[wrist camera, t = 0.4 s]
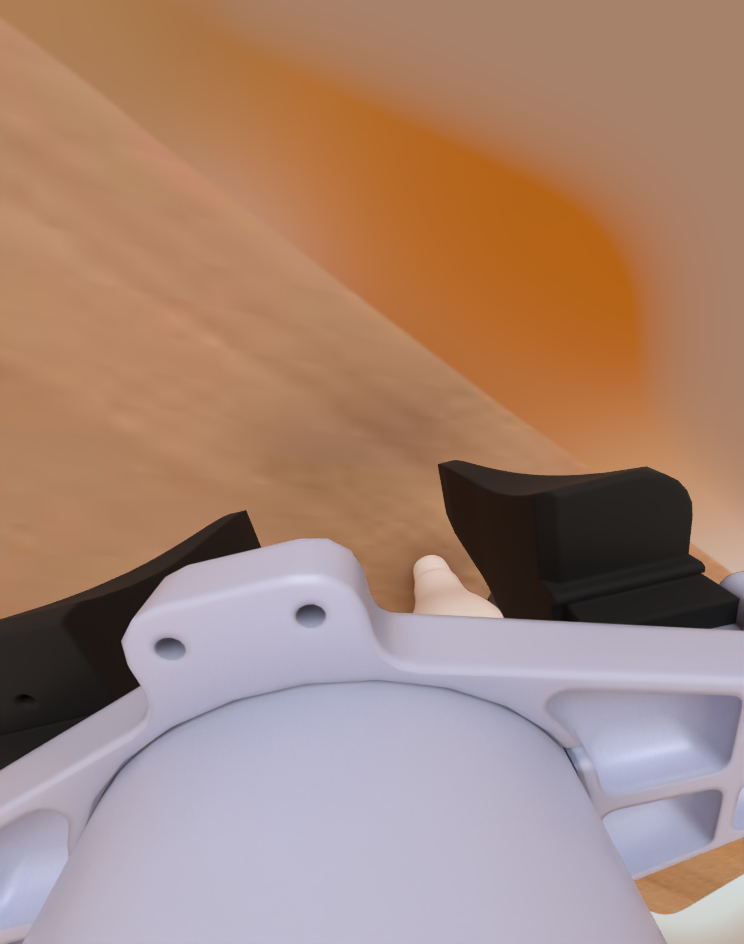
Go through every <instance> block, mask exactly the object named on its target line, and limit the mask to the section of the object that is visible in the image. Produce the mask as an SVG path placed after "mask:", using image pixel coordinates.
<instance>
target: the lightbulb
mask: <svg viewBox="0 0 744 944" xmlns="http://www.w3.org/2000/svg"><path fill="white" fill-rule="evenodd" d="M413 576H414V581H415V587H414V596H415V609H414V611H413V613H414V614H433V615H452V616H472V617H491V618H504V617H503V615H502V613H501V611H500V610H499V609H498V608H497V607H496V606H494V605H493V604H492V603H490V602H489V601H487V600H485V599H483V598H482V597H480V596H478V595H476V594H473V593H471V592H469V591H468V590H466V589H465V588H464V587H463V585H462V584H461V582H460V580H459V579H458V577H457V576H456V575H455V574H454V573H452V572H451V570H450V568H449V566H448V565H447V563H446V562H445V560H444V559H443V558H441V557H439V556H436V555H428V556H424V557H422V558H421V559H419V560H418V561H417V562H416V564H415V565H414V568H413Z"/></svg>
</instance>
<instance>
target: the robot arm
mask: <svg viewBox="0 0 744 944" xmlns="http://www.w3.org/2000/svg"><path fill="white" fill-rule="evenodd" d="M438 468H439V474H440V480H441V485H442V491H443V497H444V503H445V508H446V514H447V516H448V518H449V521H450V523H451V525H452V527H453V530H454V532H455V534H456V535H457V537H458V539H459V540H460V542H461V543H462V545H463V546H464V548H465V550H466V551H467V553H468V554H469V556H470V557H471V559H472V560H473V562H474V563H475V565H476V567H477V568H478V570H479V571H480V573H481V574H482V576H483V578H484V579H485V581H486V583H487V585H488V586H489V588H490V591H491V593H492V595H493V597H494V599H495V601H496V603H497V605H498V607H499V609H500V611H501V613H502V615H503V617H504V618H491V617H472V616H452V615H433V614H414V613H395V612H388V611H386V610H384V609H382V608H380V607H379V606H378V605H377V604H376V603H375V602H374V599H373V597H372V595H371V593H370V590H369V587H368V583H367V580H366V576H365V573H364V569H363V568H362V566H361V565H360V563H359V562H358V560H357V559H356V557H355V556H354V554H353V553H352V551H351V550H350V549H348V548H346V547H344V546H341V545H339V544H337V543H335V542H333V541H331V540H329V539H327V538H314V539H296V540H291V541H287V542H283V543H279V544H275V545H270V546H266V547H262V548H261V546H260V543H259V541H258V538H257V536H256V533H255V531H254V528H253V526H252V523H251V521H250V519H249V516H248V514H247V511H246V510H245V511H241V512H237V513H232V514H229V515H226V516H224V517H222V518H220V519H218V520H217V521H215V522H213V523H212V524H210V525H208V526H207V527H205V528H204V529H202V530H201V531H199V532H198V533H196V534H194V535H193V536H191V537H190V538H188V539H187V540H185V541H183V542H182V543H180V544H178V545H177V546H175V547H174V548H172V549H170V550H169V551H167V552H165V553H164V554H162V555H160V556H158V557H157V558H155V559H153V560H151V561H149V562H148V563H146V564H144V565H142V566H140V567H138V568H136V569H134V570H132V571H130V572H128V573H126V574H123V575H121V576H119V577H117V578H114V579H112V580H110V581H108V582H105V583H103V584H101V585H99V586H96V587H94V588H91V589H89V590H86V591H84V592H81V593H79V594H76V595H73V596H71V597H68V598H65V599H62V600H60V601H57V602H54V603H51V604H48V605H45V606H42V607H39V608H36V609H33V610H29V611H26V612H23V613H20V614H16V615H13V616H10V617H7V618H3V619H0V944H667V942H666V941H665V939H664V937H663V935H662V933H661V931H660V929H659V928H658V926H657V924H656V922H655V920H654V918H653V916H652V914H651V912H650V911H649V909H648V907H647V905H646V903H645V901H644V899H643V897H642V896H641V894H640V892H639V890H638V888H637V886H636V884H635V882H634V881H635V880H637V879H640V878H642V877H645V876H647V875H650V874H652V873H655V872H657V871H660V870H662V869H665V868H668V867H670V866H673V865H675V864H678V863H680V862H683V861H685V860H688V859H690V858H693V857H695V856H698V855H700V854H703V853H706V852H708V851H711V850H713V849H716V848H718V847H721V846H723V845H726V844H728V843H731V842H733V841H736V840H738V839H741V838H743V837H744V571H741V572H737V573H733V574H731V575H729V576H727V577H725V578H724V579H723V580H722V581H721V582H720V584H719V585H718V584H717V583H715V582H714V581H712V580H711V579H709V578H708V577H706V576H704V575H703V574H701V573H702V572H705V566H704V564H703V563H702V562H701V561H699V560H698V559H696V558H694V557H693V556H691V555H689V554H688V553H689V544H690V535H691V525H692V501H691V499H690V496H689V494H688V492H687V490H686V489H685V488H684V486H682V484H681V483H680V482H679V481H678V480H676V479H674V478H672V477H670V476H668V475H665V474H663V473H660V472H658V471H656V470H654V469H651V468H649V467H640V468H633V469H627V470H620V471H614V472H607V473H597V474H585V475H568V476H546V475H530V474H520V473H512V472H507V471H501V470H496V469H492V468H487V467H483V466H479V465H476V464H472V463H468V462H464V461H459V460H453V461H449V462H445V463H441V464H438Z"/></svg>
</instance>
